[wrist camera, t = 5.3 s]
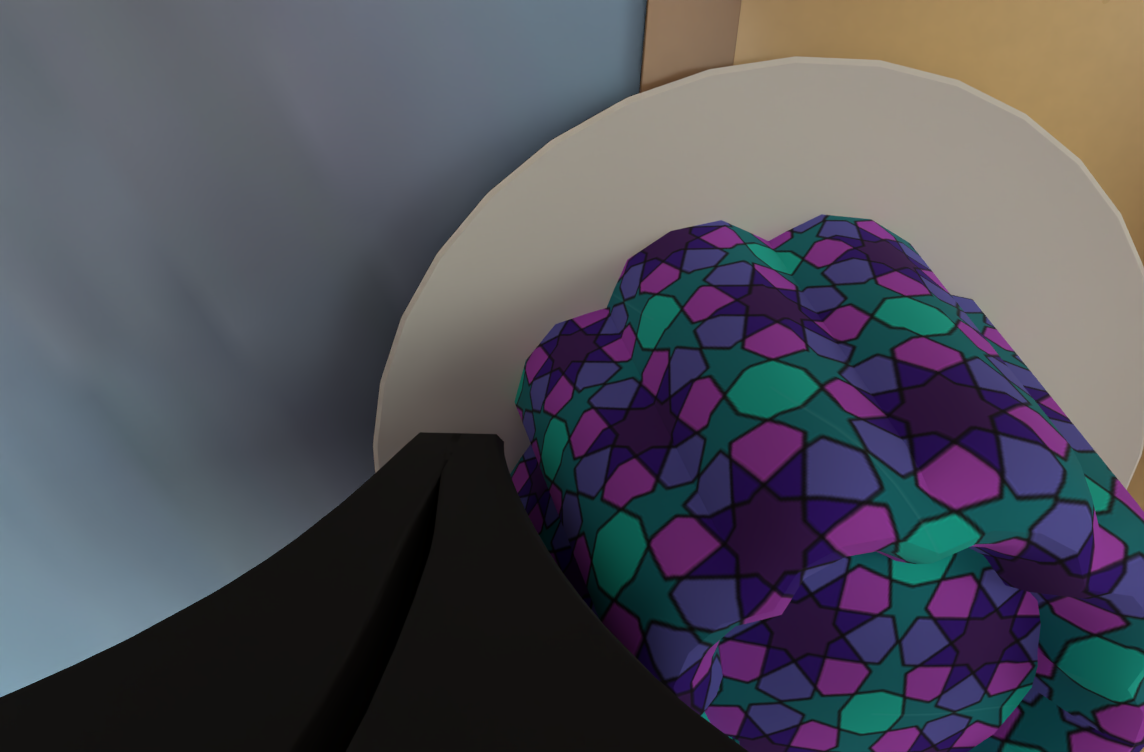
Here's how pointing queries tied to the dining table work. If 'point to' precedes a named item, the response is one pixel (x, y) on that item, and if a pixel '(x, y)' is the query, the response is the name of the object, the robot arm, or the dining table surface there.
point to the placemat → (951, 65)
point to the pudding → (816, 404)
